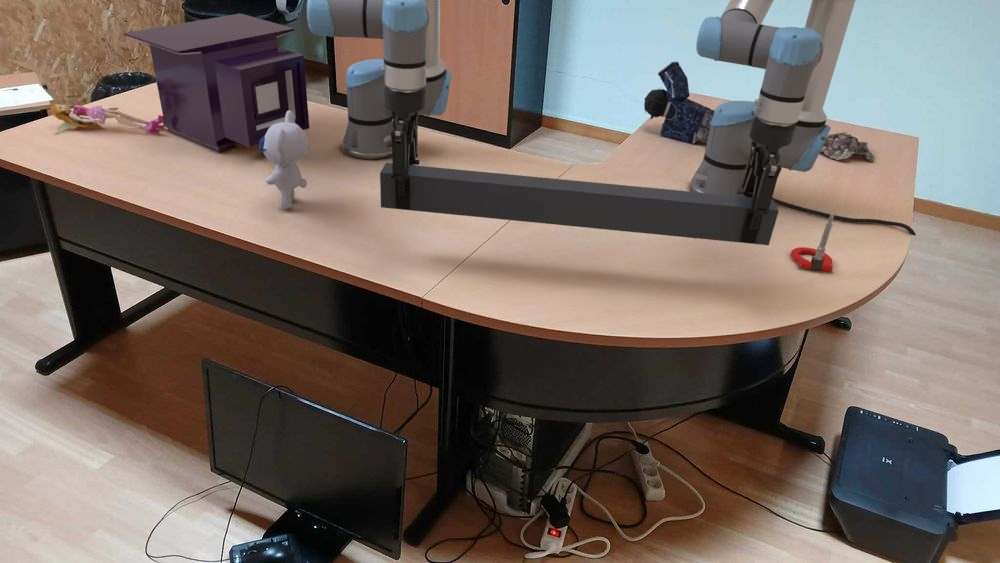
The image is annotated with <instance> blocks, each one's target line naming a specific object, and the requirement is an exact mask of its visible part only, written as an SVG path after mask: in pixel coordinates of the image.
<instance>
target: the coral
mask: <svg viewBox="0 0 1000 563" xmlns="http://www.w3.org/2000/svg"><path fill="white" fill-rule="evenodd" d="M820 153H824V155H825V156H827V157H828V158H830V159H832V160H835V161H839V160H840V161H841V160H844V159H848V158H851V157H852V155H853V154H854V155H857V154H859V155H860V156H861V158H863V159H865V160H866V161H871V162H874V160H875V159H874V158H875V155H874V154H873V153H872V152H871V151H870V149H869V147H868V142H867V141H859V139H858V137H855V136H853V135H852V134H851V133H849V132H848V131H846V132H844V131H843V132H836V133H828V136H827V138H826V140H825V142H824V144H823V146H822V148H821V150H820ZM873 157H874V158H873Z"/></svg>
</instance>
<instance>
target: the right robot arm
mask: <svg viewBox="0 0 1000 563" xmlns="http://www.w3.org/2000/svg"><path fill="white" fill-rule="evenodd" d="M774 1H775V0H730V1H729V2H728V3H727V5H726V7H725V9H724V11H723V12H722V14H721V16H707V17H705V18H704V19H703V20H702V22H701V25H700V27H699V30H698V34H697V38H696V43H695V44H696V47H695V48H696V53H697V55H698V56H699V57H701V58H705V59H709V60H714V61H715V62H724V63H730V64H736V65H741V66H747V67H752V68H756V69H762V70H765V71H764V74H763V79H762V84H761V88H760V90H759V94H758V98H756V99H754V101H751V100H732V101H731V100H730V101H726V102H722V103H721V104H719V105H718V106H717V107H716V108H715V109H714V111H715V112H714V115H713V118H712V121H711V123H710V124H711V127H710V131H709V136H708V141H707V142H706V145H705V150H704V154H703V159H702V161H701V163H700V165H699V166H698V168H697V169H696V171H695V172H694V173H693V176H692V178H691V180H690V184H689V189H690V190H689V191H690V192H701V193H711V194H722V195H732V196H743V197H752V202H751V207H750V209H746V212H747V215H746V219H745V222H744V226H743V230H742V234H741V238H740V242H746V243H745V244H750V243H755V241H756V237H757V234H758V230H759V226H760V223H761V219H762V216H763V215H767V214H768V211H769V207H770V204H771V200H772V199H773V201H774V202H775V204H776V205H777V204H778V205H780V206H783V207H786V208H790V209H794V210H796V211H800V212H803V213H804V212H805V213H808V214H812V215H816V216H820V217H824V218H828V219H829V217H830V214H831V213H827V212H823V211H820V210H816V209H810V208H807V207H803V206H799V205H796V204H792V203H789V202H786V201H784V200H780V199H777V198H775V197H774V192H775V188H776V185H777V182H778V178H779V176H780V173H781V171H782V168H783V169H786V170H788V171H795V172H802V173H807V172H810V171H812V169H813V167H814V165H815V163H816V161H817V159H818V157H819V155H820V153H821V152H820V150H821V148H822V146H823V144H824V142H825V140H826V138H827V136H828V135H829V134H830V131H831V129H832V127H831V126H830V125H828V124H826V123H827V121H828V116H827V114H826V113H825V111H824V107H825V103H826V99H827V96H828V93H829V90H830V86H831V82H832V79H833V76H834V72H835V69H836V66H837V64H838V60H839V57H840V53H841V49H842V46H843V43H844V40H845V36H846V34H847V30H848V28H849V27H848V26H849V24H850V20H851V16H852V14H853V10H854V6H855V4H856V1H857V0H811V3H810V7H809V10H808V14H807V18H806V21H805V25H804V27H797V26H785V27H779V26H772V25H765V24H762V23H763V22H764V20H765V18H766V16H767V14H768V12H769V10H770V8H771V7H772V5H773V3H774ZM833 220H836V221H841V222H842V221H844V222H849V223H859V224H880V225H886V226H894V227H898V228H902V229H905V230H906V231H907V232H908V233H909V234H910V235H912V236H917V234H916V231H914V229H913V228H912V227H910V226H909V225H908V224H906V223H903V222H899V221H890V220H884V219H879V218H878V219H876V218H854V217H846V216H841V215H836V214H834V218H833Z"/></svg>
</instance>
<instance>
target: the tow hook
mask: <svg viewBox="0 0 1000 563" xmlns="http://www.w3.org/2000/svg"><path fill="white" fill-rule="evenodd" d="M829 214H830V217H829V218H828V220H827V222H825V227H824V230H823V233H822V236H821V239H820V242H819V245H818V246H817V248H811V247H804V246H803V247H802V246H801V247H795V248H793V249H792V250H791V252H790V256H791V258H792V259H793V260H794V261H795V262H797V263H798V267H799V268H801V269H809V270H812V271H825V272H833V269H834V266H833V264H832V263H833V259H832V257H831V256H830V255H829V254H827V253H826V246H827V242H828V240H829V237H830V234H831V230H832V227H833V221H834V219H833V218H834V215H835V214H834V213H829ZM800 254H810V255H813V256H812V257H811V260H809V259H806V258H804V257H802V256H801V255H800Z"/></svg>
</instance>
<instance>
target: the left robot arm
mask: <svg viewBox="0 0 1000 563" xmlns="http://www.w3.org/2000/svg"><path fill="white" fill-rule="evenodd" d="M306 18H307V19H306V20H307V25H308V28H309V30H310V31H309V32H311V33H312V34H313V35H316V36H324V37H330V38H356V39H357V38H358V39H371V40H373V39H375V40H382V41H383V58H373V59H366V60H361V61H357V62H355V63H352V64H351V65H350V66H349V67H348V68H347V69H346V73H345V74H346V76H345V77H346V78H345V80H346V82H345V87H346V102H347V103H346V104H347V125H346V128H345V132H344V135H343V139H342V151H343V153H345V155H348V156H350V157H352V158H356V159H360V160H383V159H387V158H392V160H391V163H392V173H393V175H391V179H393V180H395V198H396V208H397V209H396V210H401V209H407V210H406V211H410V210H409V209H410V177H409V176H408V174H409V165H415V166H420V163H421V161H420V159H418V157H419V153H418V152H419V150H418V148H419V147H418V146H419V143H418V142H419V141H418V136H419V134H418V133H419V132H418V130H419V129H418V128H419V127H418V125H419V124H418V123H419V116H426V117H430V116H442V115H444V113H445V112H446V110H447V107H448V101H449V96H450V88H451V87H450V86H451V80H452V79H451V78H452V72H451V70H448V69H446V63H445V61H444V60H443V59H442V58H440V56H441V54H440V53H441V49H440V48H441V0H307V1H306ZM393 114H394V115H395V118H394V117H393Z"/></svg>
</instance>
